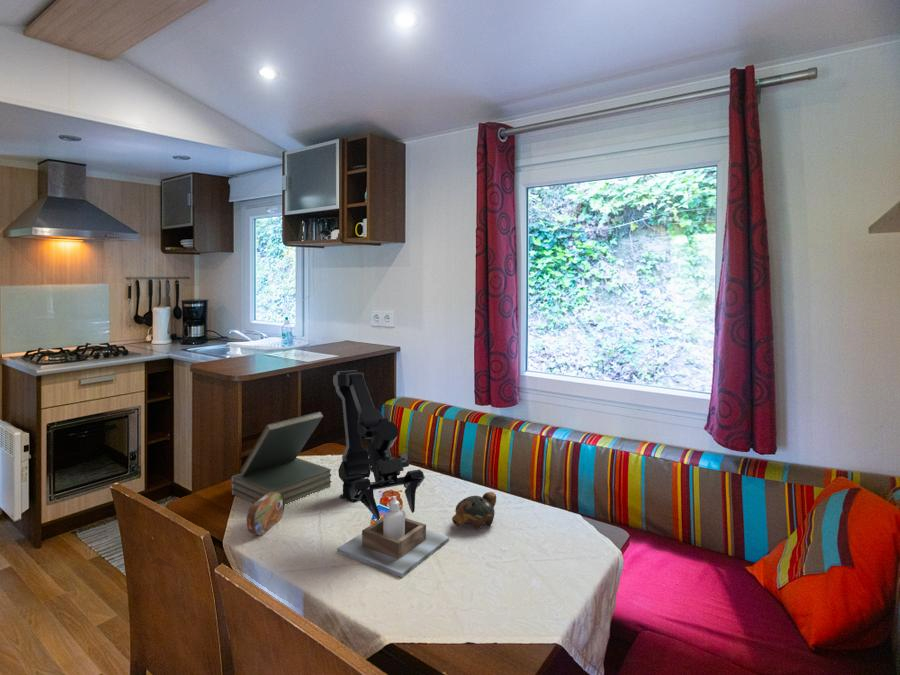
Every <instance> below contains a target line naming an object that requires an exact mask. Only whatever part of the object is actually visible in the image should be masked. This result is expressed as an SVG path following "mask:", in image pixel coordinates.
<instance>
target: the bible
mask: <svg viewBox="0 0 900 675" xmlns="http://www.w3.org/2000/svg"><path fill="white" fill-rule="evenodd" d="M323 418H324V415H323V413H322V412H321V411H318V412H313V413H310V414H305V415H301V416H298V417H292V418H289V419H285V420H282V421H281V420H279V421H276V422H273V423H269V424H266V426H265V428H264V429H263V431H262V433H261V434H260V436H259V438H258V439H257V441H256V443H255V445H254V446H253V448H252V449H251V451H250V453H249V455H248V456H247V458H246V460H245V462H244V463H243V465H242V467H241V468H240V470H239V473H238V474H235V475H232V476H231V495H232V496H233V495H234V496H236V497H237V498H240V497H241V498H240V499H242V498H243V500H245V501H247V502H249V501H250V502H249V503H251V502H252V504H254V503H255V502H257V501H258V500H259V499H261V498H262V497H263V496H264V495H266V494H267V493H269V492H277V491H279V492H281V493H282V494H283V496H284V506H286V505H285V504H287V505H289V504H291V503H290V502H292V503H294V502H296V501H295V500H297V501H299V500H301V499H300V498H302V499H304V498H306V497H305V496H307V495H309V496H311V495H310V494H312V493H314V494H316V493H315V492H317V493H319V492H321V491H320V490H322V491H324V490H326V489H325V488H327V487H329V488H331V483H332V480H331V477H332V474H331V471H332V468H328V467H325V466H323V465H319V464H317V463H314V462H311V461H308V460H305V459H302V458H299V457H298V456H299V454H300V452H301V451H302V450H303V448H304V447H305V445H306V443H307V442H308V440H309V439H310V438H311V436H312V434H313V433H314V431H316V428H317V427H318V425H319V423H320V422H321V421H322V419H323ZM323 489H324V490H323ZM327 489H328V488H327ZM318 491H319V492H318ZM312 495H313V494H312ZM303 497H304V498H303ZM307 497H308V496H307ZM298 499H299V500H298ZM293 501H294V502H293ZM288 503H289V504H288Z"/></svg>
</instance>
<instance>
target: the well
mask: <svg viewBox="0 0 900 675" xmlns="http://www.w3.org/2000/svg"><path fill="white" fill-rule="evenodd" d="M383 521H384V517H382V518H380V519H379V520H377V521H375V522H374V523H371V525H369V526H367V527H365V528H364V529H362V530H361V533H360V534H358V535H357V536H355V537H353V538H351V539H350V540H348V541H347V542H345V543H343V544H341V545H340V546H339V547H337V548H336V552H337V553H338V552H339V553H338V554H341V553H342V554H341V555H343V554H344V556H347V557H349V558H352V559H353V560H356V561H359V562H361V563H364V564H366V565H369V566H372V567H374V568H377V569H378V570H381V571H384V572H387V573H389V574H392V575H394V576H397V577H399V578H404V577H405V576H406V575H408V574H409V573H410V572H411V571H413V570H414V569H416V568H417V567H418V566H419V565H420V564H422V563H423V562H424V561H426V560H427V559H428V558H430V557H431V556H432V555H433V554H434V553H436V552H437V551H438V550H439V549H441V548H442V547H443V546H444V545H446V544H447V543H448V542H449V541H450V537H449V536H446V535H443V534H440V533H437V532H434V531H430V530H428V529H427V524H425V523H423V522H419V521H417V520H413V519H409V518H406V517H405V535H404V536H403V537H401V538H400V539H398V540H397V539H394V538H391V537H388V536H385V535H383Z"/></svg>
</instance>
